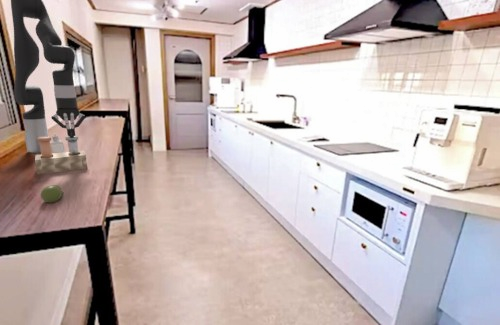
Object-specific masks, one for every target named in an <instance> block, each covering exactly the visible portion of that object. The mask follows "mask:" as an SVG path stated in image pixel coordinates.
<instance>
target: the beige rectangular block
mask: <svg viewBox="0 0 500 325" xmlns="http://www.w3.org/2000/svg"><path fill="white" fill-rule="evenodd" d="M86 155H87V154H86V153H85V151H84V150H79V154H78V155H70V154H69V151H65V152H63V153H52V157H48V158H42V154H35V157H34V158H35V159H34V164H35V167H36V168H35V169H36V174H37V175H41V174H42V175H43V174H44V175H45V174H49V173H50V174H51V173H52V174H53V173H58V172H66V171H74V170H82V169H88V161H87V156H86Z"/></svg>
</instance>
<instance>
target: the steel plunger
mask: <svg viewBox="0 0 500 325" xmlns="http://www.w3.org/2000/svg"><path fill="white" fill-rule="evenodd" d="M64 138H65V139H64V140H65V141H67V148H68V152H69V154H70V155H78V154H79V151H80V150H79V144H78V140H79V136H77V135H75V136H74V137H72V138H70V136H66V137H64Z"/></svg>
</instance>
